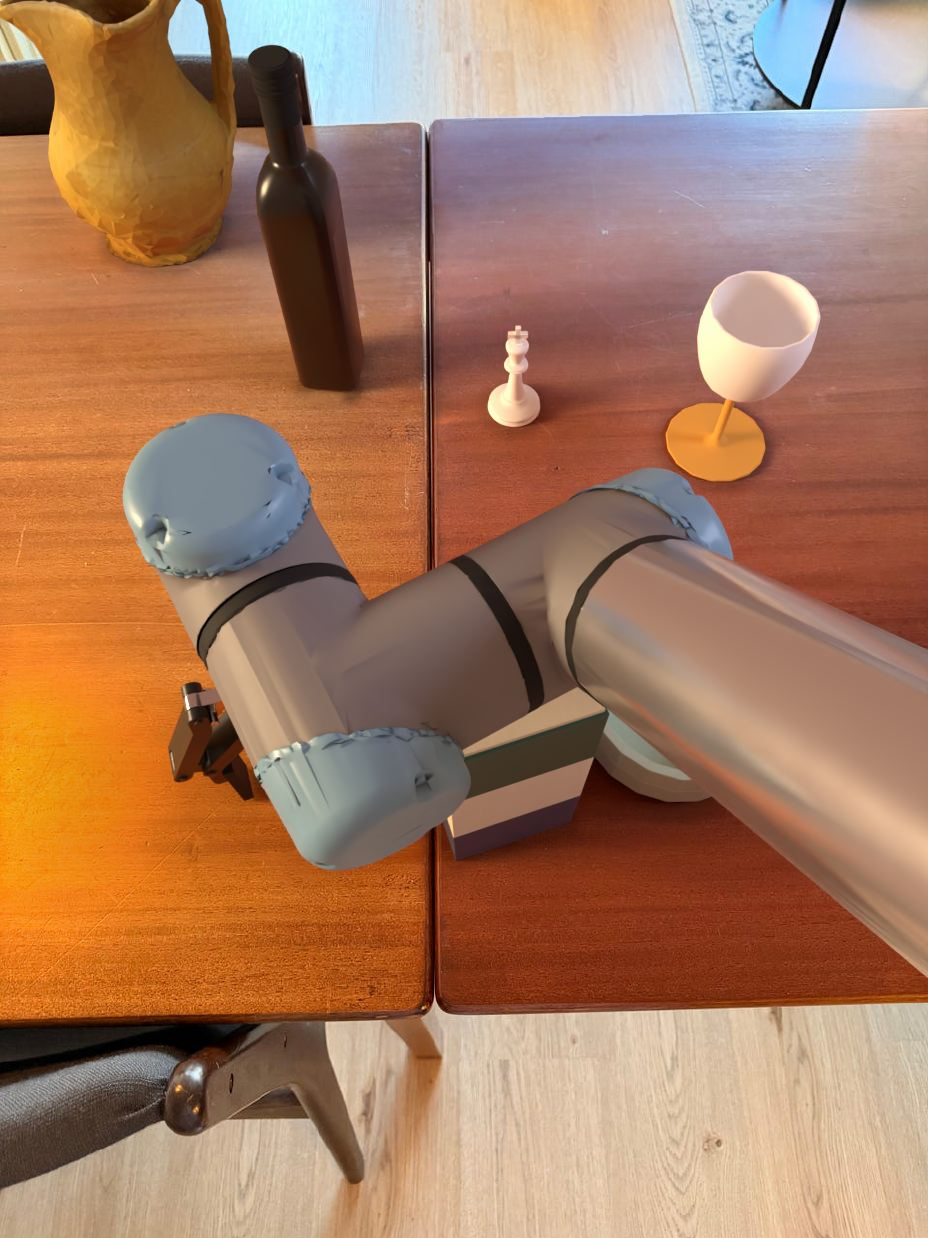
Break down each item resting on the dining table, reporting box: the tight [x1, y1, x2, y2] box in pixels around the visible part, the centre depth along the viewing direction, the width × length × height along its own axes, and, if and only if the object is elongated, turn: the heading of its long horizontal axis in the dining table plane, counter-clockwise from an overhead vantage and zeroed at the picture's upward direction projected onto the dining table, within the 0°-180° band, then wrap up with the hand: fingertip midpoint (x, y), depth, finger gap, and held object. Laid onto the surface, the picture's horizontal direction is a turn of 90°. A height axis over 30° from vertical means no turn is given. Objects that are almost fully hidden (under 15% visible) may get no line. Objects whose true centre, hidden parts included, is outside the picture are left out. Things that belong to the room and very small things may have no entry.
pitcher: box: [0, 0, 238, 268], centre depth 86 cm, size 17×19×25 cm
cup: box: [665, 270, 822, 482], centre depth 76 cm, size 9×9×16 cm
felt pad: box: [463, 687, 605, 757], centre depth 48 cm, size 6×9×1 cm, turn 109°
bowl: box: [594, 710, 713, 803], centre depth 68 cm, size 14×14×6 cm
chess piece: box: [487, 325, 541, 428], centre depth 81 cm, size 5×5×10 cm
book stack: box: [442, 708, 609, 862], centre depth 58 cm, size 6×9×22 cm, turn 108°
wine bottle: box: [247, 44, 366, 393], centre depth 74 cm, size 6×6×30 cm
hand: (331, 755), depth 69 cm, fingers open, 13 cm apart
